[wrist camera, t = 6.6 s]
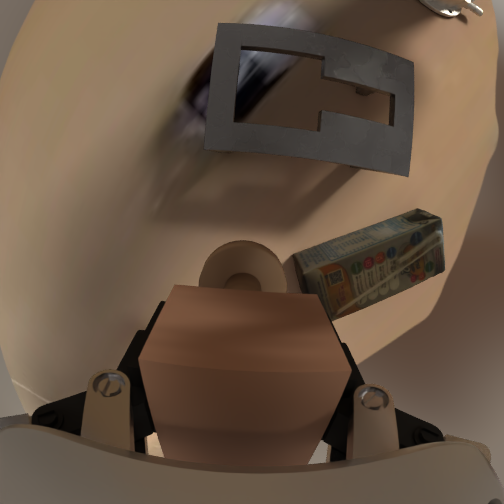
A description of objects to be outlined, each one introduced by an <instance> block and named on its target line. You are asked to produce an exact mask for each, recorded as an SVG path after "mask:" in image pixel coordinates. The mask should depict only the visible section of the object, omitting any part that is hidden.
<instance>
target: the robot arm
mask: <svg viewBox="0 0 504 504" xmlns="http://www.w3.org/2000/svg"><path fill="white" fill-rule="evenodd" d="M419 1H420V2H421V3H423V4H424V5H425V6H427V7H428V8H429V9H431V10H433V11H434V12H436V13H438V14H440V15H442V16H446V17H455V16H457V15H459V14H460V12H461V10H462V7H464V8H466V9H470V10H471V11H472V12H473V13H475V14H476V15H478V16H482V14H483V10H482V9H481V8H480V7H478V6H477V5H475V4H474V3H472V2H474V0H419ZM165 303H166V302H165V301H161V302H160V303H159V305H158V307H157V309H156V311H155V313H154V314H153V316H152V318H151V320H150V322H149V324H148V326H147V328H146V330H138V331H137V333H136V334H135V336H134V338H133V340H132V342H131V344H130V345H129V347H128V349H127V351H126V353H125V355H124V357H123V359H122V361H121V362H120V364H119V366H118V368H117V370H111V369H109V370H103V371H100V372H97V373H96V374H94V375H93V376H92V377H91V378H90V380H89V383H88V388H87V391H85V392H82V393H79V394H76V395H73V396H70V397H67V398H64V399H61V400H58V401H55V402H52V403H49V404H46V405H43V406H41V407H39V408H38V409H36V410H35V412H34V413H33V415H32V416H29V414H28V413H27V414H21V415H15V416H8V417H2V418H0V504H504V488H503V485H502V484H501V482H500V480H499V478H498V476H497V474H496V472H495V471H494V469H493V467H492V466H491V464H490V461H491V454H490V450H489V449H488V447H487V446H486V445H484V444H482V443H479V442H475V441H471V440H467V439H463V438H459V437H456V436H452V435H449V434H446V435H445V436H443V434H442V432H441V431H440V430H439V429H438V428H437V427H436V426H434V425H432V424H430V423H428V422H425V421H423V420H420V419H418V418H416V417H414V416H412V415H409V414H407V413H405V412H403V411H400V410H398V409H396V408H394V401H393V398H392V395H391V394H390V392H389V391H388V390H387V389H385V388H384V387H382V386H379V385H376V384H365V383H364V380H363V378H362V376H361V374H360V372H359V370H358V368H357V365H356V363H355V361H354V359H353V357H352V355H351V353H350V351H349V348H348V346H347V345H346V343H341V340H340V338H339V336H338V334H337V332H336V330H335V328H334V325H333V323H332V321H331V319H330V317H329V315H328V313H327V312H326V314H327V317H328V319H329V321H330V323H331V325H332V327H333V329H334V332H335V334H336V336H337V338H338V340H339V343H340V345H341V347H342V349H343V351H344V354H345V356H346V358H347V360H348V363H349V365H350V367H351V369H352V372H351V374H350V377H349V379H348V381H347V384H346V386H345V389H344V391H343V393H342V396H341V398H340V400H339V403H338V405H337V407H336V409H335V411H334V413H333V416H332V418H331V420H330V422H329V424H328V426H327V428H326V430H325V432H324V434H323V436H322V438H321V440H323V441H324V442H325V443H327V444H328V450H327V457H326V463H318V464H307V465H292V466H231V465H217V464H206V463H197V462H188V461H181V460H175V459H168V458H163V457H157V456H152V455H148V445H147V436H148V435H151V434H153V432H156V429H155V426H154V422H153V419H152V415H151V411H150V408H149V404H148V400H147V396H146V392H145V388H144V384H143V379H142V375H141V370H140V365H139V360H138V358H139V356H140V354H141V352H142V350H143V348H144V345H145V343H146V341H147V339H148V337H149V335H150V333H151V331H152V329H153V327H154V325H155V323H156V321H157V319H158V317H159V315H160V313H161V311H162V309H163V307H164V305H165ZM156 433H157V432H156Z"/></svg>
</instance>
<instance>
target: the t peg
mask: <svg viewBox="0 0 504 504" xmlns="http://www.w3.org/2000/svg"><path fill="white" fill-rule="evenodd" d="M138 360H139V365H140V370H141V375H142V379H143V384H144V388H145V392H146V396H147V400H148V404H149V408H150V411H151V415H152V419H153V422H154V426H155V429H156V432H157V436H158V439H159V442H160V445H161V448H162V451H163V454H164V457H165V458H168V459H175V460H181V461H188V462H197V463H206V464H217V465H231V466H292V465H307V464H308V462H309V460H310V459H311V457H312V455H313V453H314V451H315V450H316V447H317V446H318V444H319V442H320V440H321V438H322V436H323V434H324V432H325V430H326V428H327V426H328V424H329V422H330V420H331V418H332V416H333V413H334V411H335V409H336V407H337V405H338V403H339V400H340V398H341V396H342V393H343V391H344V389H345V386H346V384H347V381H348V379H349V377H350V374H351V372H352V369H351V367H350V365H349V363H348V360H347V358H346V356H345V354H344V351H343V349H342V347H341V345H340V343H339V340H338V338H337V336H336V334H335V332H334V329H333V327H332V325H331V323H330V321H329V319H328V317H327V314H326V312H325V310H324V308H323V306H322V304H321V302H320V300H319V298H318V295H317V294H298V293H287V281H286V277H285V273H284V270H283V267H282V265H281V262H280V261H279V259H278V258H277V256H276V255H275V254H274V253H273V252H272V251H271V250H270V249H268V248H267V247H265V246H264V245H262V244H259V243H256V242H253V241H246V240H240V241H233V242H229V243H227V244H224V245H222V246H220V247H219V248H217V249H216V250H215V251H214V252H213V253H212V254H211V255H210V256H209V257H208V259H207V260H206V262H205V265H204V267H203V270H202V272H201V275H200V279H199V287H196V286H185V285H174V287H173V289H172V291H171V293H170V295H169V297H168V299H167V301H166V303H165V305H164V307H163V309H162V311H161V313H160V315H159V317H158V319H157V321H156V323H155V325H154V327H153V329H152V331H151V333H150V335H149V337H148V339H147V341H146V343H145V345H144V348H143V350H142V352H141V354H140V356H139V358H138Z"/></svg>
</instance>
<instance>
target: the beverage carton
mask: <svg viewBox="0 0 504 504" xmlns="http://www.w3.org/2000/svg"><path fill="white" fill-rule="evenodd" d="M293 258H294V263H295V268H296V273H297V276H298V280H299V284H300V288H301V291H302V294H317V295H318V298H319V300H320V302H321V304H322V306H323V308H324V310H325V312H327V313H328V315H329V317H330V319H331V321H334V320H336V319H339V318H341V317H344V316H346V315H349V314H351V313H354V312H356V311H359V310H361V309H364V308H366V307H368V306H370V305H373V304H375V303H377V302H379V301H382V300H384V299H386V298H388V297H391V296H393V295H396V294H397V293H400V292H402V291H404V290H406V289H409V288H411V287H413V286H415V285H417V284H419V283H421V282H423V281H425V280H427V279H428V278H430V277H433V276H436V275H437V274H439V273H442V272H444V271H445V257H444V239H443V224H442V219H441V218H440V217H437V216H435V215H433V214H430V213H429V212H426V211H424V210H421V209H418V208H417V209H415V210H412V211H409V212H407V213H404V214H401V215H399V216H396V217H393V218H390V219H387V220H385V221H382V222H380V223H377V224H374V225H372V226H369V227H366V228H363V229H360V230H357V231H355V232H352V233H349V234H347V235H344V236H341V237H338V238H335V239H333V240H330V241H327V242H325V243H322V244H319V245H317V246H314V247H311V248H309V249H306V250H303V251H301V252H298V253H295V254H293Z"/></svg>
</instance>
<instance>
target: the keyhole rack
mask: <svg viewBox="0 0 504 504" xmlns="http://www.w3.org/2000/svg"><path fill="white" fill-rule="evenodd" d="M241 50H250V51H262V52H272V53H281V54H288V55H295V56H301V57H307V58H313V59H318V60H322V70H321V79H325V80H330V81H334V82H339V83H343V84H348V85H352V86H356V93H358V94H362V95H365V96H368V95H370V94H372V93H374V92H378V93H381V94H384V95H388V96H390V110H389V125H386V124H382V123H378V122H374V121H370V120H366V119H362V118H358V117H354V116H349V115H344V114H340V113H335V112H329V111H324V110H321V111H320V112H319V115H318V127H317V131H310V130H303V129H296V128H289V127H280V126H271V125H261V124H250V123H236V122H234V113H235V102H236V92H237V83H238V75H239V67H240V55H241ZM413 120H414V62H412V61H409V60H407V59H404V58H402V57H399V56H396V55H394V54H391V53H388V52H385V51H382V50H379V49H376V48H373V47H370V46H367V45H363V44H360V43H356V42H353V41H349V40H345V39H341V38H337V37H333V36H328V35H324V34H319V33H314V32H309V31H303V30H297V29H290V28H283V27H275V26H266V25H254V24H237V23H218V28H217V34H216V41H215V48H214V56H213V63H212V71H211V80H210V88H209V98H208V107H207V117H206V128H205V140H204V150H209V151H214V152H221V153H231V151H238V152H251V153H262V154H273V155H282V156H291V157H299V158H307V159H314V160H321V161H327V162H334V163H340V164H346V165H350V167H352V168H357V169H363V170H370V171H376V172H383V173H389V174H394V175H400V176H406V177H409V169H410V160H411V149H412V137H413Z"/></svg>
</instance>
